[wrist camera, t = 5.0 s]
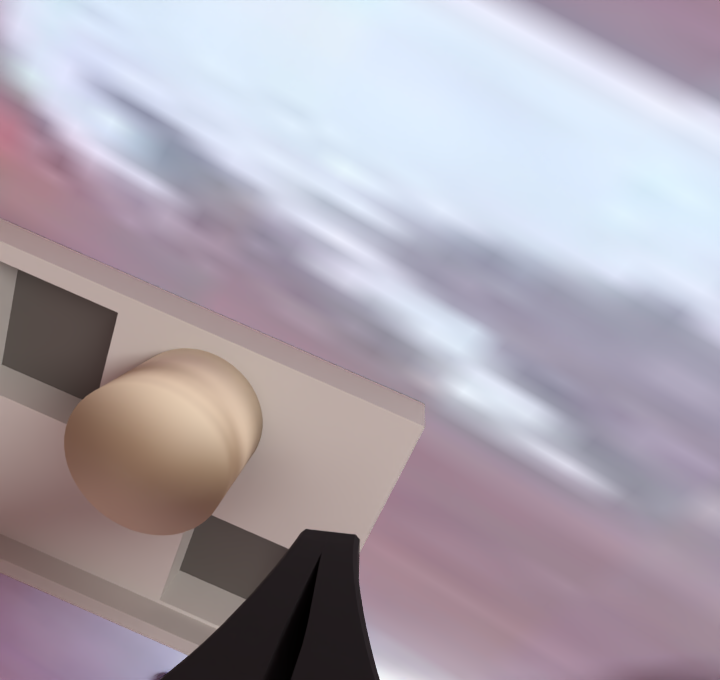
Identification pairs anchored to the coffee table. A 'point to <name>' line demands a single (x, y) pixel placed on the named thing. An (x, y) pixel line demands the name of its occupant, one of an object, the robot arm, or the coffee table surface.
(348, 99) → the coffee table surface
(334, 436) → the trap board
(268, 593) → the robot arm
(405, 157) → the coffee table surface
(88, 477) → the beige rounded knob
